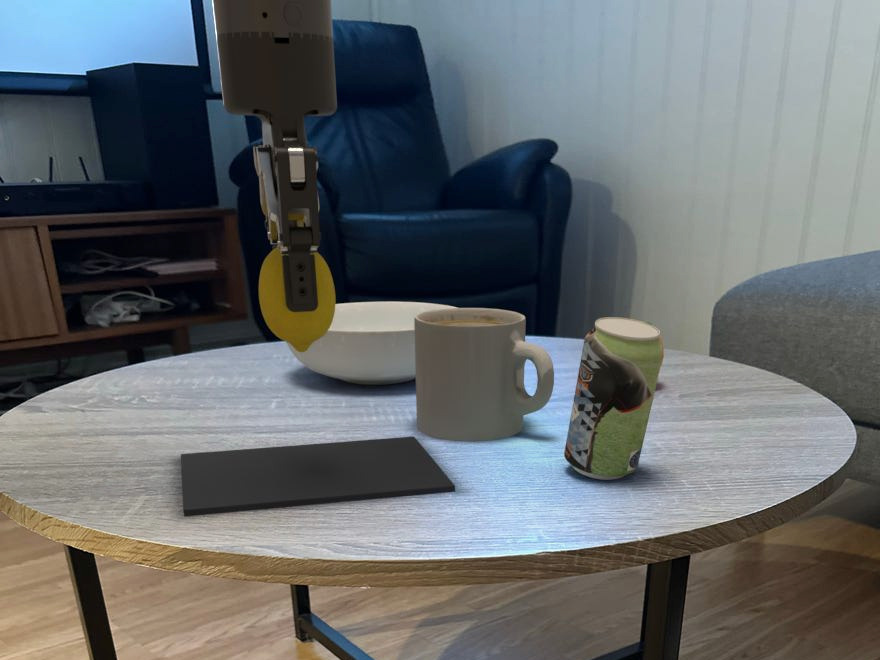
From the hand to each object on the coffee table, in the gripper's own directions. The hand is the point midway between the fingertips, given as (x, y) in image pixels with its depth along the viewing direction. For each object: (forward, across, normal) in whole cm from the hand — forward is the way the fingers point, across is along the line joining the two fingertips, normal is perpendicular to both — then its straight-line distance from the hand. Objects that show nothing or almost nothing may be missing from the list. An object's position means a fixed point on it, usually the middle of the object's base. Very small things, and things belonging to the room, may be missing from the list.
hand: (297, 303), depth 69 cm
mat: (+13, 0, 0) cm, 13 cm away
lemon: (+4, 0, 0) cm, 4 cm away
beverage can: (+13, +6, +23) cm, 27 cm away
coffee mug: (+13, -9, +17) cm, 24 cm away
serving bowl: (+13, -34, +12) cm, 38 cm away
